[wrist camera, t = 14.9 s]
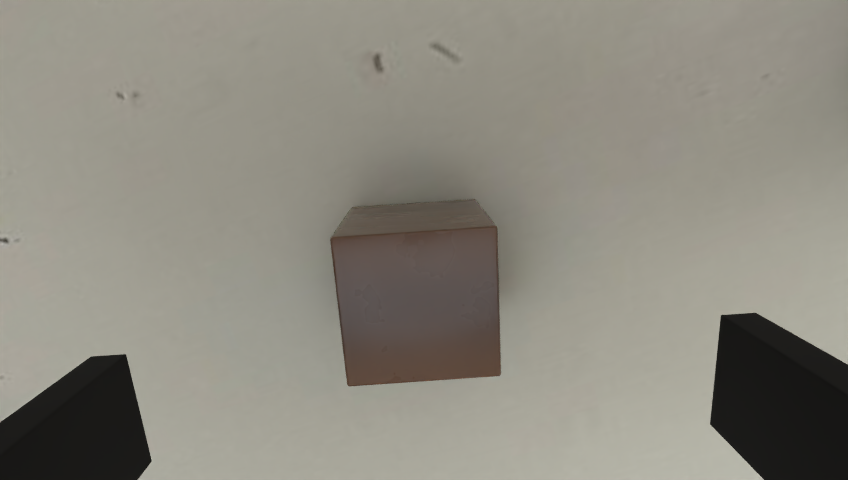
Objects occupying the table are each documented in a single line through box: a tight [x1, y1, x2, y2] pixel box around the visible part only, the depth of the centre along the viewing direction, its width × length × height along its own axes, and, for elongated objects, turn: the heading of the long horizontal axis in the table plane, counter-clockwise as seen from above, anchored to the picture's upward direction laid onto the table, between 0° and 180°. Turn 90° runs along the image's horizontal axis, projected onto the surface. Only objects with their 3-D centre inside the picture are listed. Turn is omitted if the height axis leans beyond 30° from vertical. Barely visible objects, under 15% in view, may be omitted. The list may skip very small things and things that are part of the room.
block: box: [330, 199, 501, 386], centre depth 17 cm, size 5×5×5 cm
